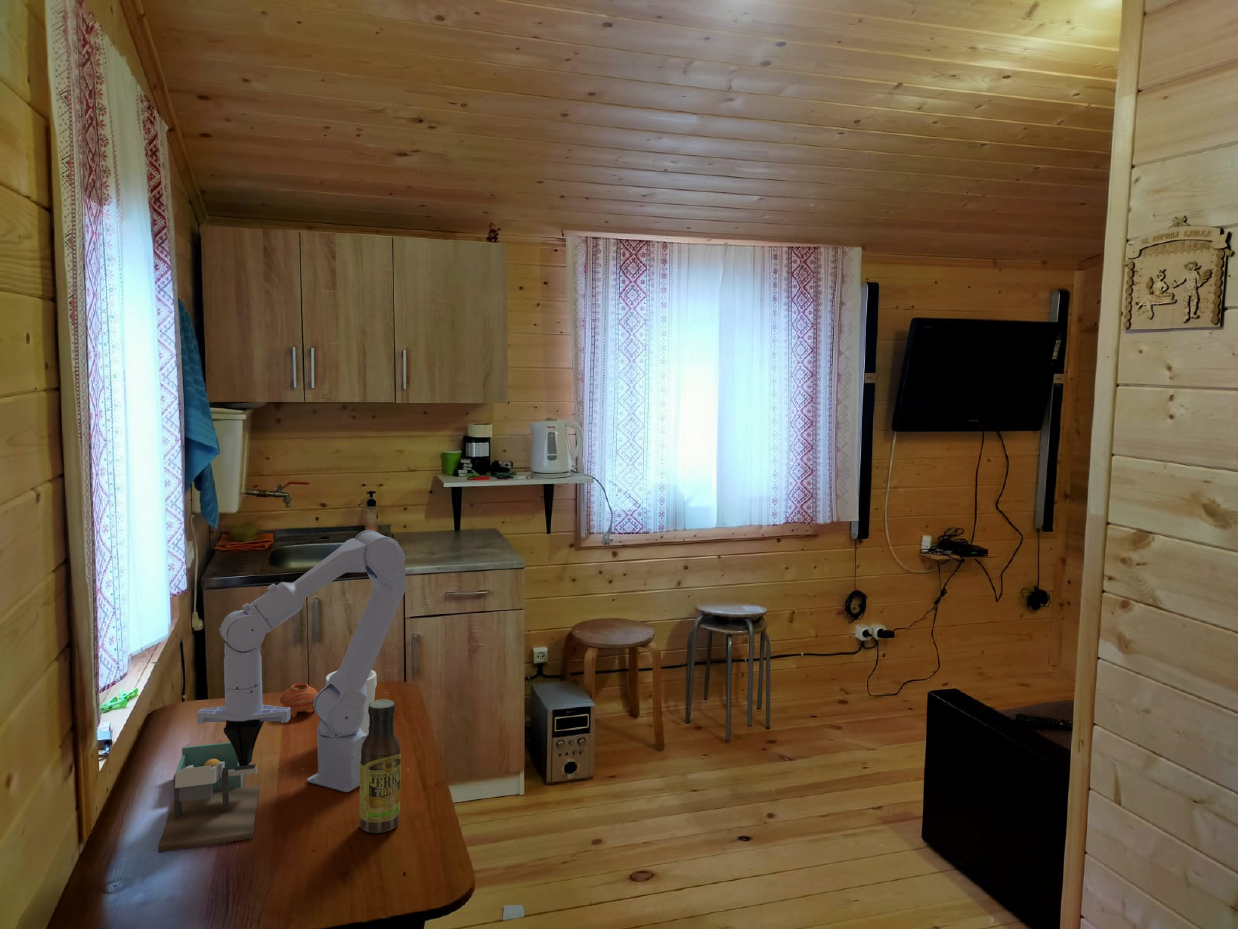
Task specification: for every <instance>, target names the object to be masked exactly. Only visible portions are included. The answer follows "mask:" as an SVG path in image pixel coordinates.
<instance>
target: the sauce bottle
mask: <svg viewBox="0 0 1238 929" xmlns="http://www.w3.org/2000/svg"><path fill="white" fill-rule="evenodd" d="M395 711H396V703H395V701H393V700H390V699H385V698H384V699H376V700H374V701H373V702H371V703H370V704H369V707H368V713H369V728H368V729H369V734H368V735H367V737H366V738H365V740H364V742H363V743H362V747H361V761H360V786H359V810H358V811H359V815H358V816H359V826H360V829H361V830H363V831H364V832H366V833H370V834H381V833H386V832H389V831H391V830H394V829H395V828H396V827H398V825H399V822H400V813H401V774H402V772H401V770H402V769H401V768H402V766H401V765H402V764H401V763H402V762H401V761H402V756H401V743H400V739H399V738H398V736H397V735H396V733H395V726H394V720H395V719H394V717H395V716H394V714H395Z"/></svg>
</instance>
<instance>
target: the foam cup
mask: <svg viewBox="0 0 1238 929" xmlns="http://www.w3.org/2000/svg"><path fill="white" fill-rule="evenodd" d="M337 671H338V670H335V671H333V672H330V673H328V674H327V675H326V676H325V685H326V684H327V682H328V680H329V678H330V677H331V676H332V675H333V674H334V673H336V672H337ZM377 683H378V682H377V672H376V671H375V670H373V669H372V670H371V672H370V674H369V677H368V679H367V682H366V687H367V699H366V701H365V704H364V718H363V721H362V723H361V725H360V728H361V730H362V731H363V732H364V733H365V734H367V735H368V734H369V729H368V728H369V713H368V707H369V704H370V703H371V702H373V701H375V695H376V694H375V693H376V687H377Z"/></svg>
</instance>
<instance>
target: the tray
mask: <svg viewBox="0 0 1238 929" xmlns="http://www.w3.org/2000/svg"><path fill="white" fill-rule="evenodd" d="M223 768H225V761H224V762H220V763H218V764H217V765H215V766H214V767H212V768H211V766H203V767H195V768H193V765H190V766H188V767H186V768H184V769H180V771H178V772H176V771H175V773H174V774H175V788H179V801H187V800H194V799H202V798H210V797H212V796H213V795H214V783H215V782H217V781H218V780H219V779H220V778H222V769H223ZM257 773H258V767H257V764H256V763H255V762H254V763H250V764H249V765H245V766H239V765H238V766H235V770H228V776H237V775H244V776H245V775H251V774H252V775H253V774H257Z"/></svg>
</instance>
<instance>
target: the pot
mask: <svg viewBox="0 0 1238 929" xmlns="http://www.w3.org/2000/svg"><path fill="white" fill-rule="evenodd" d="M318 693H319V692H318V690H317V689H315V688H314V687H313V686H310V685H309V684H308V683H306V682H299V683H295V684H292V685H290V687H289V688H287V689H286V690H285V691H284V692H283V694H282V695H281V696H280V698H279V703H280V704H281V705H282V707H290V712H291V718H296V717H297V714H298V713H301V712H305V711H308V710H311V709H312V711H314V700H315V697H316V696H317V694H318ZM313 713H315V711H314V712H313Z"/></svg>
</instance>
